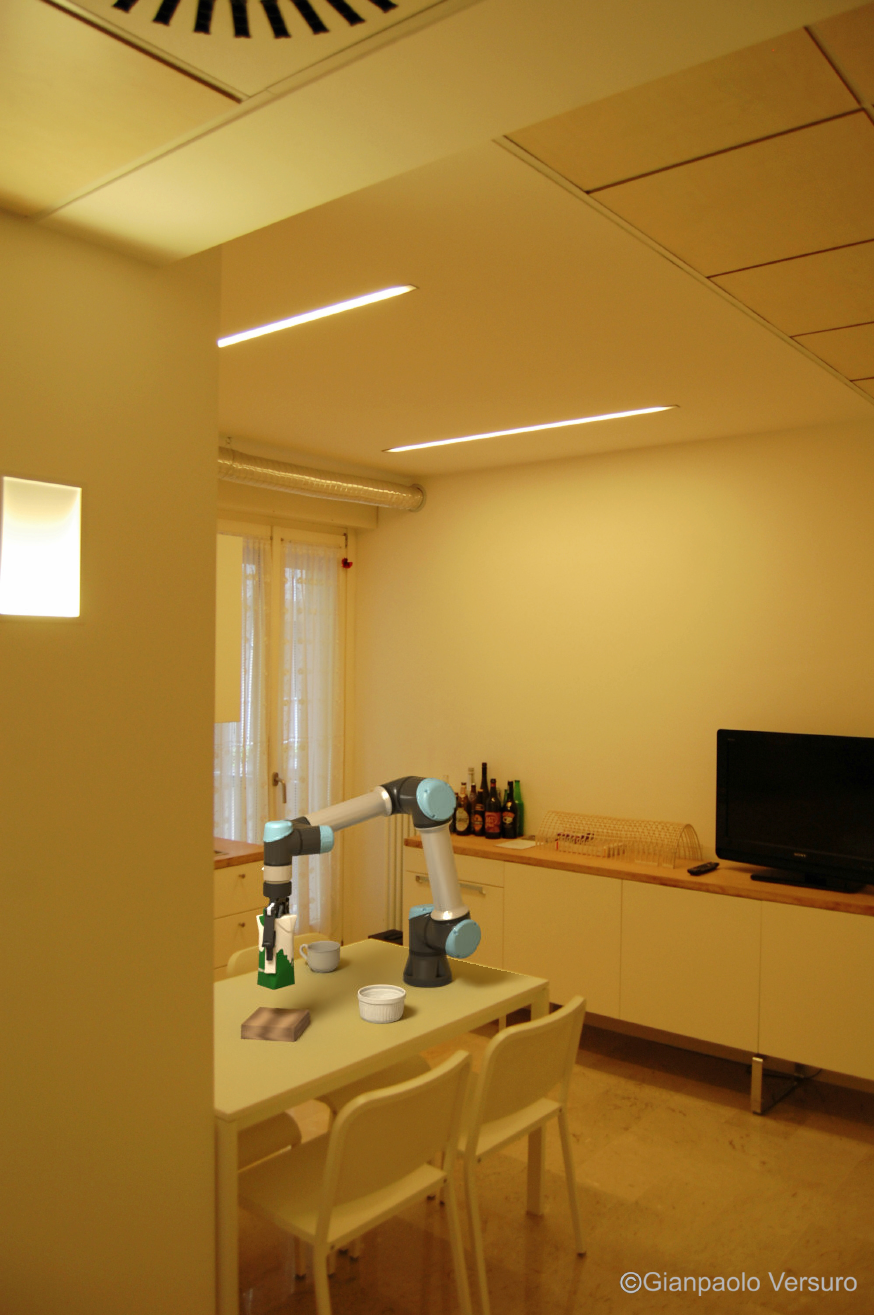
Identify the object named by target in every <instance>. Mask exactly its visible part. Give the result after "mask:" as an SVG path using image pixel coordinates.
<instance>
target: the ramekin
mask: <svg viewBox="0 0 874 1315" xmlns="http://www.w3.org/2000/svg"><path fill="white" fill-rule="evenodd" d="M406 998H407V992H406V990H405V989H404V988H402V987H400V986H398V985H392V984H391V985H390V984H373V985H372V984H371V985H367V986H364V987H361V988H359V990H358V991H357V999H358V1009H359V1015H360V1017H361V1018H362V1020H364V1021H365V1022H368V1023H371V1024H372V1023H373V1024H378V1025H379V1024H390V1022H391V1023H395V1022H397V1021H399V1020H400V1019H401V1018H402V1016H403V1013H404V1009H405V1008H404V1007H405V999H406ZM394 1021H395V1022H394Z"/></svg>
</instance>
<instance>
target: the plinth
mask: <svg viewBox="0 0 874 1315" xmlns="http://www.w3.org/2000/svg"><path fill="white" fill-rule="evenodd" d="M310 1011H311V1010H310V1009H303V1008H301V1009H300V1008H282V1007H267V1006H266V1007H264V1006H263V1007H262V1006H259V1007H258V1008H257V1009H255V1011H254V1012H253V1013H252V1014H251V1015H249V1017H248V1018H246V1019H245V1020H244V1021H243V1022H242V1023H241V1025H240V1039H241V1040H254V1041H255V1040H256V1041H270V1042H282V1043H283V1042H287V1043H288V1042H289V1043H295V1041H296V1040H297V1039H298V1038H299V1036H300V1035H301V1034H303V1032H304V1031H305V1029H306V1028H307V1027H308V1026H309V1025H310V1023H311V1022H310V1017H311V1016H310V1015H311V1014H310V1013H311V1012H310Z"/></svg>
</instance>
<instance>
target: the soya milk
mask: <svg viewBox="0 0 874 1315" xmlns="http://www.w3.org/2000/svg"><path fill="white" fill-rule="evenodd" d="M264 917H265V913H264V908H262V914H259V915H256V923H257V924H256V925H257V929H258V969H257V983H256V985H258V986H260V987H264V988H266V989H269V990H272V991H275V990H280V989H282V988H287V987H290V986H292V985H295V984H296V976H295V964H294V961H295V927H296V923H297V919H298V915H296V914H292V913H290V914H289V913H287V914H282V915H281V918H280V919H277V918H275V923H274V931H276V942H275V947H276V973H265V947H262V941H263V929H264ZM275 917H277V916H276V914H275ZM268 942H269V941H268Z"/></svg>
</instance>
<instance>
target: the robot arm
mask: <svg viewBox="0 0 874 1315" xmlns="http://www.w3.org/2000/svg"><path fill="white" fill-rule="evenodd" d="M456 807H457V797H456V792H455V791H454V789H453V787H452V786H451V785H450V784H449V783H447V781H445V780H443V779H442V780H441V779H440V778H439V779H438V778H437V777H424V776H417V775H406V776H403V777H400V778H396V779H394V780H391V781H388V782H385V783H382V784H380V785H377V786H375V787H374V789H373V791H370V792H367V793H365V794H362V795H360V796H357V797H352V798H351V799H348V800H345V801H341V802H339V803H336V804H333V805H330V806H328V807H325V808H322V809H319V810H317V811H314V812H311V813H308V814H305V815H303V816H299V817H296V818H293V819H286V818H285V819H279V820H270V821H267V822H266V823H265V824H264V829H263V837H262V841H263V865H262V866H263V867H262V868H261V871H262V872H263V873H262V874H263V876H262V877H263V880H264V881H263V883H262V896H263V897H265V898H268V899H269V900H268V901H269V902H268V904H267V906H265V907H264V908H263V909H264V913H265V917H264V929H263V941H262V947H265V973H276V947H275V942H276V931H274V923H275V918H277V919H280V918H281V915H282V914H287V913H289V914H291V913H290V911H291V910H290V899H291V898H290V896H291V895H292V893H293V882H292V879H293V857H298V856H299V857H300V856H309V855H310V856H311V855H312V856H313V855H321V854H322V855H323V854H326V853H328V854H329V853H330V852H331V851H332V850H333V848H334V846H335V834H334V833H337V832H340V831H342V830H345V829H348V828H351V827H353V826H357V825H359V824H361V823H364V822H367V821H369V820H373V819H376V818H378V817H381V816H382V817H384V818H388V817H391V816H393V815H394V816H395V815H409V816H411V820H412V825H413V828H414V829H415V830H417V831H418V832H419V834H420V840H421V843H422V844H421V845H422V848H423V850H422V851H423V854H424V860H425V866H426V871H427V874H428V875H427V877H428V880H429V886H430V891H431V896H432V902H433V903H424V904H418V905H413V906H411V907H410V909H409V911H408V918H407V919H408V956H407V959H406V962H405V965H404V969H403V972H402V980H403V983H404V984H406V985H409V986H413V987H419V988H437V987H442V986H447V985H449V984H451V983H452V981H453V971H452V969H451V966H450V963H449V959H448V956H449V957H450V958H453V959H454V958H455V959H459V960H461V959H462V960H463V959H467V958H469V957H470V956H471V955H473V954H474V953H475V952H476V950H477V948H478V947H479V945H480V943H481V940H482V939H481V938H482V930H481V928H480V925H479V924H478V922H476V921H475V920H474V919H472V918H471V913H470V912H471V911H470V908H469V906H468V905H467V904H465V903H464V901H463V898H462V897H463V896H462V892H461V885H460V880H459V875H458V871H457V865H456V859H455V854H454V849H453V843H452V842H453V841H452V838H451V832H450V829H449V826H450V825H451V823H452V821H453V814H454V812H455V809H456ZM275 914H276V916H277V917H275ZM268 941H269V942H268Z"/></svg>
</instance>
